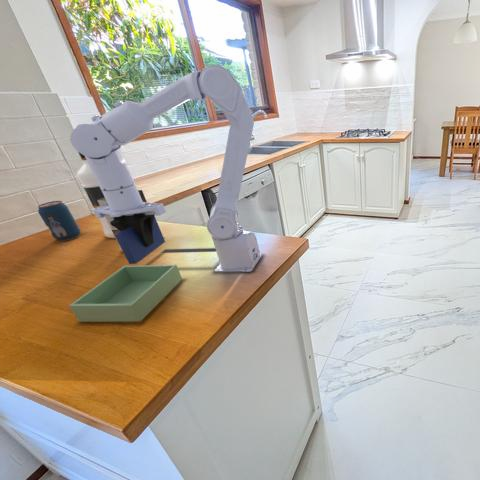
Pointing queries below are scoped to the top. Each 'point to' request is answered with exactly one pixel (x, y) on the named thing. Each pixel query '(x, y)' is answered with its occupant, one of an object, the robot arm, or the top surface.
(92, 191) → the vodka
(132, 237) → the blue flat block
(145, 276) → the bin
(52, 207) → the soda can
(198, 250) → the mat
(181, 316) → the top surface
